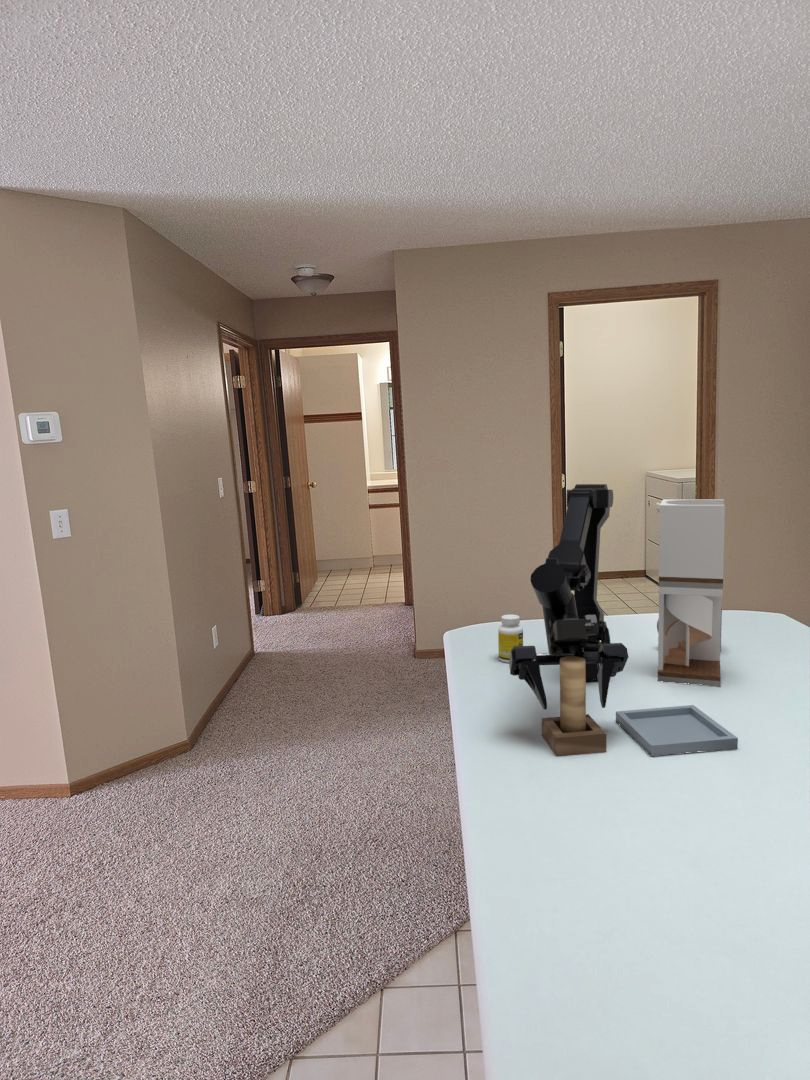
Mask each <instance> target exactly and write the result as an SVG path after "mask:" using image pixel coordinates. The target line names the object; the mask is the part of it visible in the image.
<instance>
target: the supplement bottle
mask: <svg viewBox="0 0 810 1080" xmlns="http://www.w3.org/2000/svg"><path fill="white" fill-rule="evenodd" d="M520 618H521V617H520V616H519V615H517V614H504V615H502V616H501V620H500V621H501V625H500V626H499V627H498V631H497V632H498V633H497V636H498V637H497V638H498V642H497V643H498V659H499V661H501V662H502V663H507V664H509V660H510V653H511V649H512V648H513V647H514V646H524V630H523V627H522V626H521V625H519V624H521V623H520V622H521V619H520Z"/></svg>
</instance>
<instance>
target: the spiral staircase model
mask: <svg viewBox="0 0 810 1080" xmlns="http://www.w3.org/2000/svg"><path fill="white" fill-rule="evenodd" d="M724 503H725V499H715V498H714V499H710V498H709V499H706V498H705V499H703V498H701V499H700V498H699V499H694V498H693V499H675V498H674V499H672V498H671V499H663V498H662V501H661V502H660V504H659V522H658V523H659V524H658V525H659V527H658V528H659V532H658V619H659V633H658V632H657V634H658V637H657V638H658V644H657V645H658V646H657V648H658V649H657V651H658V652H657V657H658V658H657V682H658V681H663V682H662V683H668V682H675V683H674V684H679V683H687V684H686V685H690V684H702V685H709V686H708V687H713V686H716V688H721V684H722V683H721V682H722V681H721V680H722V677H721V676H722V675H721V653H720V637H721V638H722V625H721V607H722V597H724V596H723V595H724V594H723V593H724V562H725V561H724V556H725V555H724V554H725V525H726V524H725V523H726V522H725V519H726V518H725V517H726V514H725V513H726V505H725V504H724ZM688 683H689V684H688ZM702 685H701V686H702Z"/></svg>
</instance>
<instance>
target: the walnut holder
mask: <svg viewBox="0 0 810 1080" xmlns="http://www.w3.org/2000/svg"><path fill="white" fill-rule="evenodd" d="M541 736H542V737H543V739H544V741H545V742H546V743H547V745H548V746H549V747H550V749H551V750H552V752H553V753H554V754H555V756H556V757H562V756H574V755H584V754H598V753H605V752H607V733H606V731H605V730H603V728H602V727H601V726H600V725H599V724H598V723H597V722H596V721H595V720H594V719H593V717H591V715H590V714H588V713H586V731H583V732H571V733H562V731H561V730H560V716H550V717H541Z"/></svg>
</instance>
